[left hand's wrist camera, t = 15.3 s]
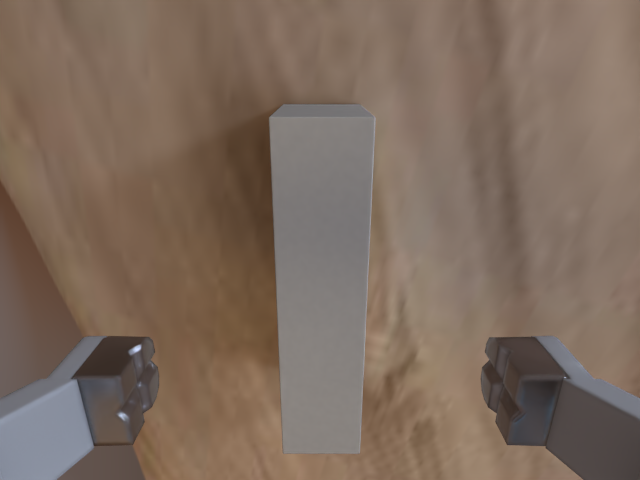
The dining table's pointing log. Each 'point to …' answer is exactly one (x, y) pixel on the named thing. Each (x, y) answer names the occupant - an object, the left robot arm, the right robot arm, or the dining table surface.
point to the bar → (321, 270)
